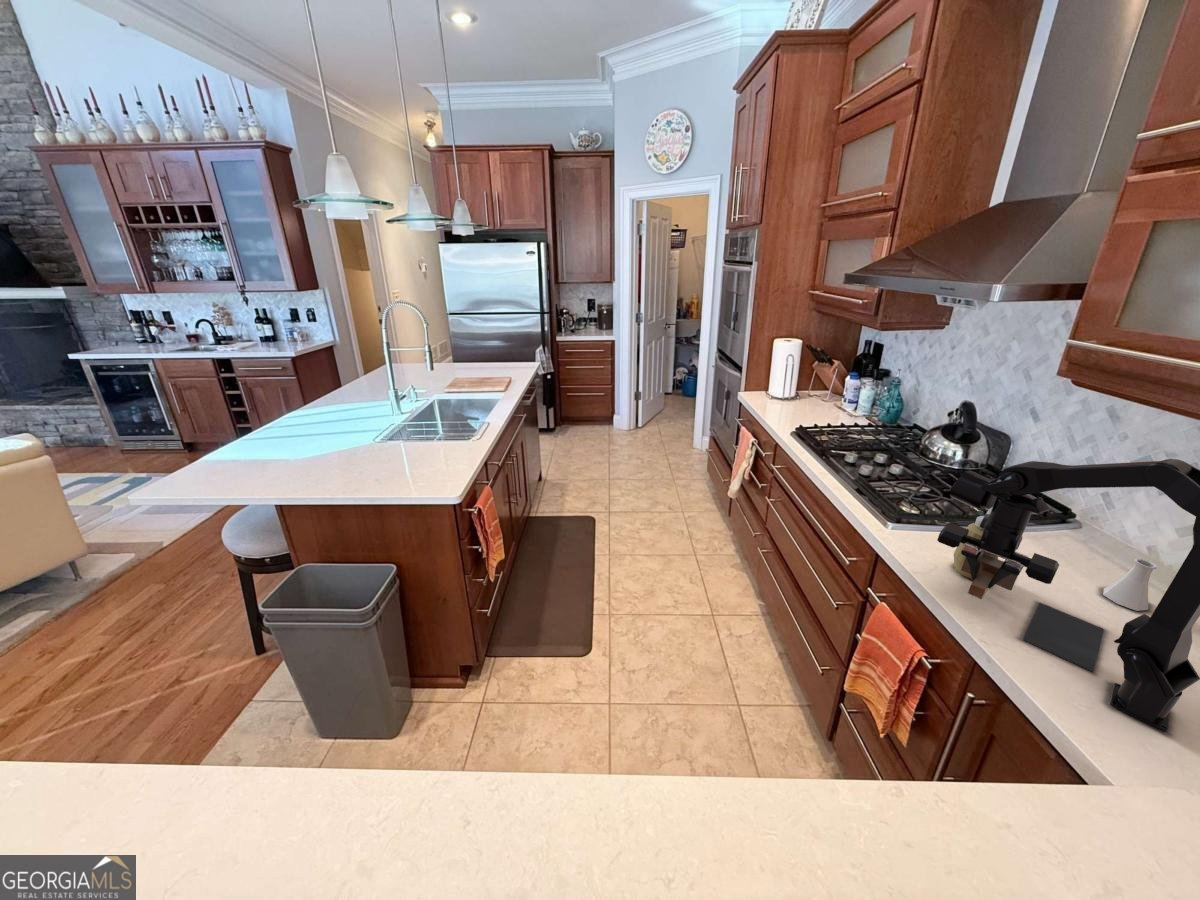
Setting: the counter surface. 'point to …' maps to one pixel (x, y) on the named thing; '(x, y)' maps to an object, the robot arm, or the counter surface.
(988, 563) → the brush
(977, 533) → the squeeze bottle
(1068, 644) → the mat
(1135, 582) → the flask
